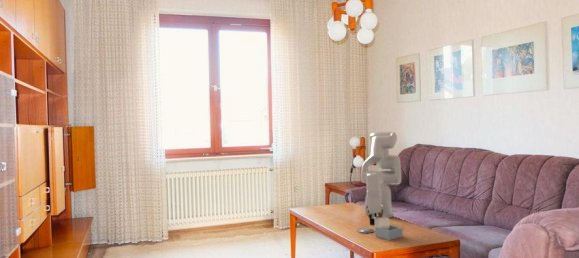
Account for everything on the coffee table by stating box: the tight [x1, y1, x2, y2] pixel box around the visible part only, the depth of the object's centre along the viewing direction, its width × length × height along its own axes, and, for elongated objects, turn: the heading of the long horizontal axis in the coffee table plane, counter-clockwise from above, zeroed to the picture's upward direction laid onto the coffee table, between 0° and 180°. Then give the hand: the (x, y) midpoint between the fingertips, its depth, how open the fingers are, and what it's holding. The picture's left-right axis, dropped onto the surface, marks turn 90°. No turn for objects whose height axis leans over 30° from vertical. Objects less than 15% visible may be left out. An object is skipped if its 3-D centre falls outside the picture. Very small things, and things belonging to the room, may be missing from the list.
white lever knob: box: [369, 216, 391, 230], centre depth 256 cm, size 13×6×9 cm, turn 35°
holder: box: [374, 224, 404, 241], centre depth 250 cm, size 11×10×5 cm
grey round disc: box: [356, 227, 375, 234], centre depth 262 cm, size 10×10×1 cm
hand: (373, 224), depth 260 cm, fingers closed on white lever knob, 2 cm apart
